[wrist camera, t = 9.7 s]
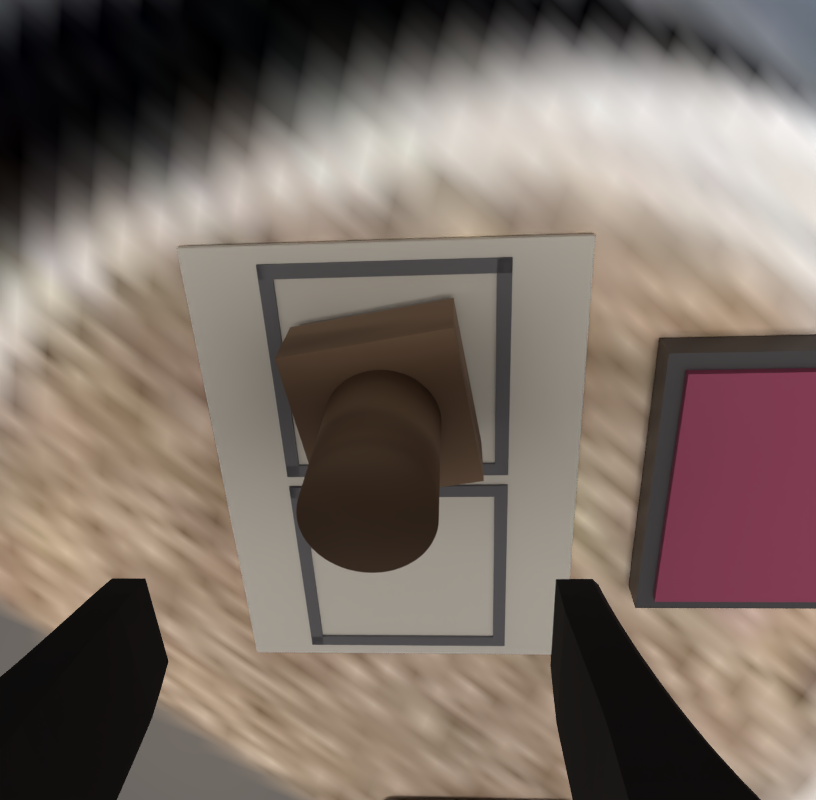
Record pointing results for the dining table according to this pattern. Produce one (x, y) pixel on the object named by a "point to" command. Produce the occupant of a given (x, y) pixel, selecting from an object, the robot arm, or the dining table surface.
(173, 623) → the dining table surface
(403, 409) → the walnut stamp
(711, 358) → the ink pad
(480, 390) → the sheet
